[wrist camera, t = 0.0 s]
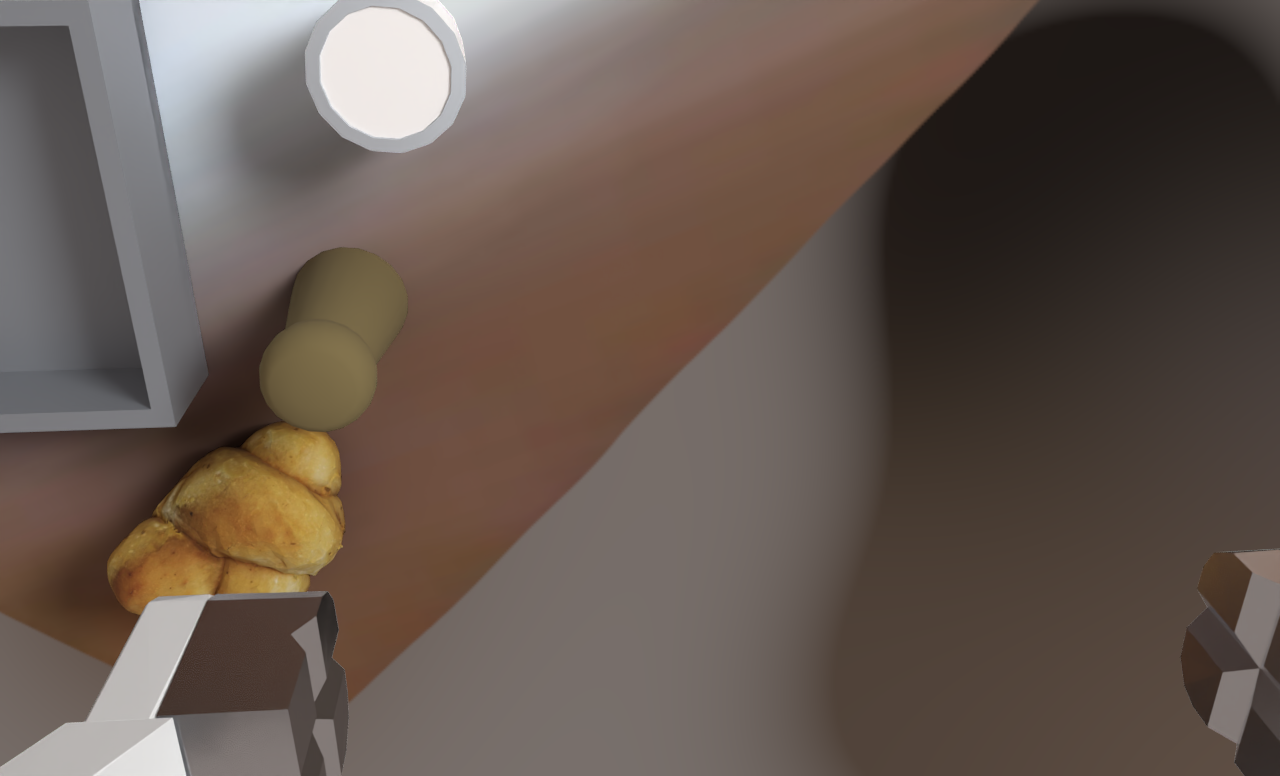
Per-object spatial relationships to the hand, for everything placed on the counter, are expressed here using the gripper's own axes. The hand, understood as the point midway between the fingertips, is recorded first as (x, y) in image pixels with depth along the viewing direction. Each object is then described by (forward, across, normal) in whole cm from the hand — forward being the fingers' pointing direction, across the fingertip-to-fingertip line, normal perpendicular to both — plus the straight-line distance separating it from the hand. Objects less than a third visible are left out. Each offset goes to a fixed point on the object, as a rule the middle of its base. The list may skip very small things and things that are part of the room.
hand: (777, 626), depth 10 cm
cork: (+48, +13, +15) cm, 52 cm away
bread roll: (+48, +19, +27) cm, 59 cm away
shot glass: (+48, +9, +2) cm, 49 cm away
